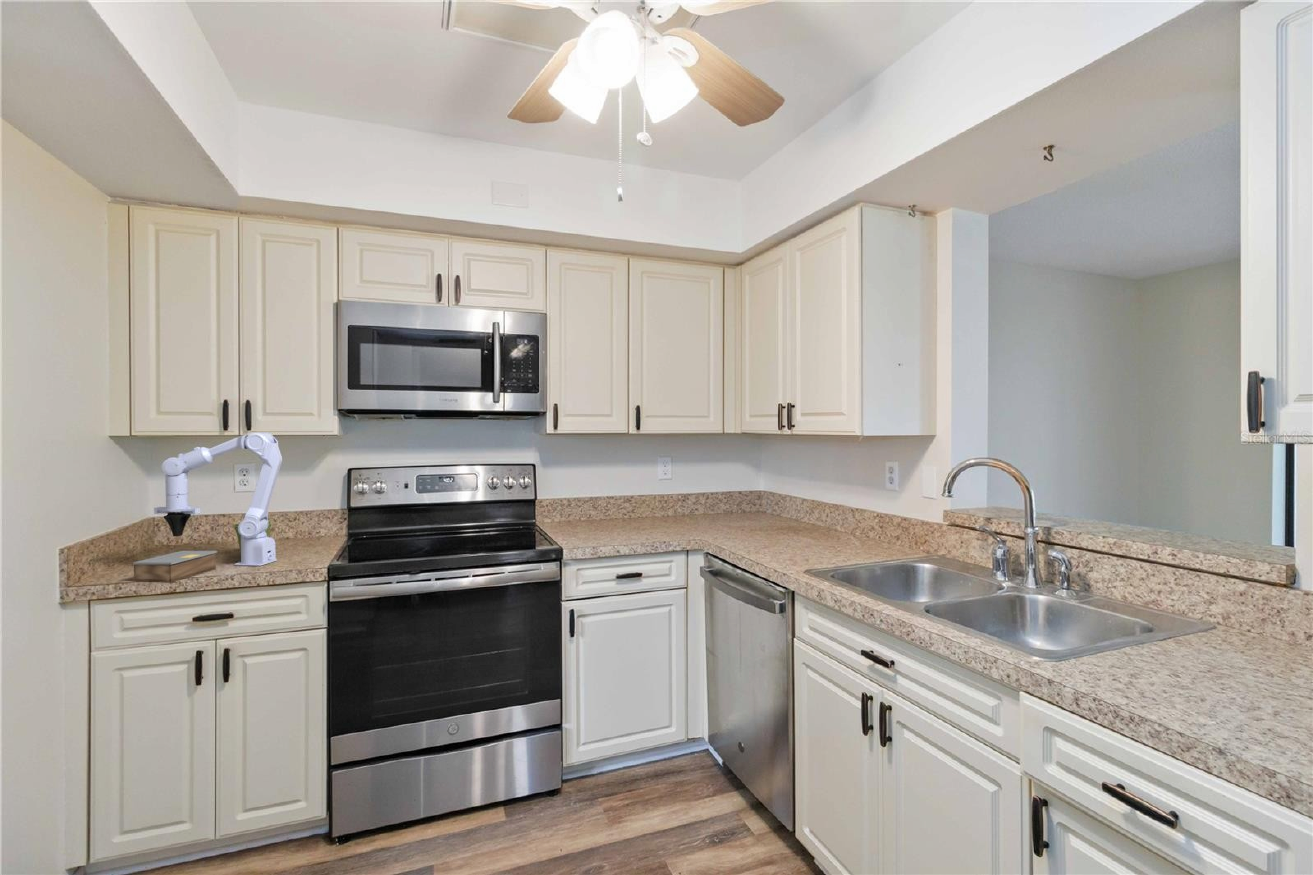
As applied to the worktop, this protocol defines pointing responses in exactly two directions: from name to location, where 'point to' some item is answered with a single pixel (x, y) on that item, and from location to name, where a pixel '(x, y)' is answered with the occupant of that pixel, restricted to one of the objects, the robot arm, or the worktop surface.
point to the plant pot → (240, 535)
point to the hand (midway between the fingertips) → (177, 535)
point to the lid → (174, 558)
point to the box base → (174, 570)
